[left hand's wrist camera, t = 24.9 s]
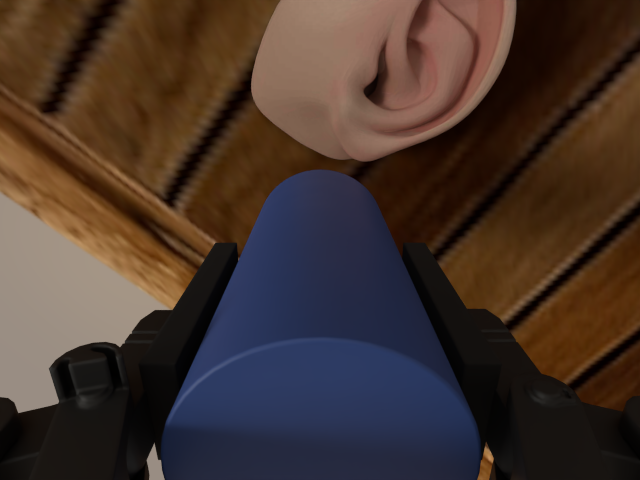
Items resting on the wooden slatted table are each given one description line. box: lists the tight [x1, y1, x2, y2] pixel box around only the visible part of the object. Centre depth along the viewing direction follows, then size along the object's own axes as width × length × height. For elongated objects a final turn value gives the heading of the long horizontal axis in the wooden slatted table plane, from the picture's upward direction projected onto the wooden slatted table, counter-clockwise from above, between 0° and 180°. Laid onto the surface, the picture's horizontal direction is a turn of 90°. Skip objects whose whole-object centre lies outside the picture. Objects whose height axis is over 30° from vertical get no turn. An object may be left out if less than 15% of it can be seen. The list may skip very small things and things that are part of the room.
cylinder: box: [161, 170, 481, 480], centre depth 13 cm, size 6×6×13 cm
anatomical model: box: [251, 0, 516, 161], centre depth 22 cm, size 13×4×12 cm
